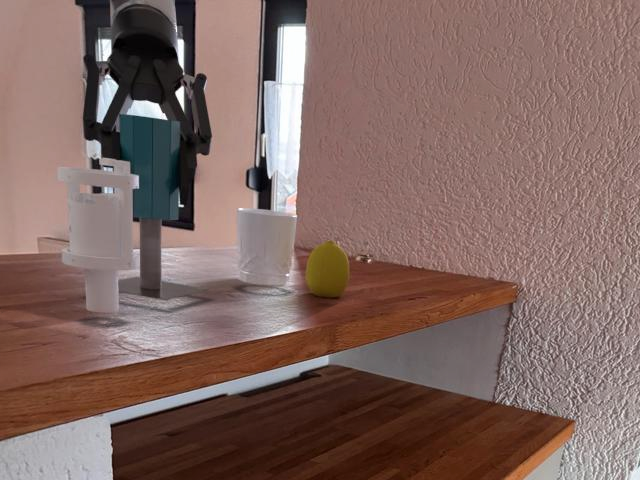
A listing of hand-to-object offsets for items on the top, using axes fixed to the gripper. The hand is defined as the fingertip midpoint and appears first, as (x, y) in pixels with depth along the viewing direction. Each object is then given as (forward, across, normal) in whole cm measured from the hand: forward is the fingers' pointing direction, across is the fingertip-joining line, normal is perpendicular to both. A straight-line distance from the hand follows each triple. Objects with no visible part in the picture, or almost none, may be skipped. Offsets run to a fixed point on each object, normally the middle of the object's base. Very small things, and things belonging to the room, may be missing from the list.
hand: (151, 192), depth 78 cm
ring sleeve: (-1, 0, -4) cm, 5 cm away
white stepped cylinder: (+15, +5, -2) cm, 16 cm away
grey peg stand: (+6, 0, -11) cm, 12 cm away
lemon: (+4, -22, -12) cm, 26 cm away
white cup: (-1, -16, -18) cm, 24 cm away
